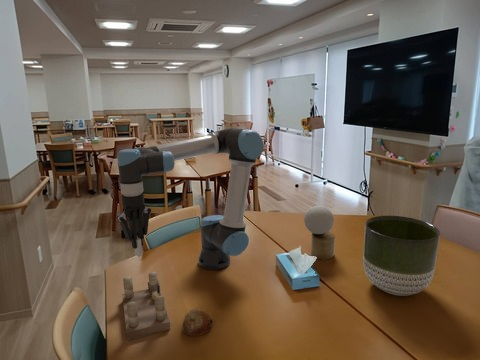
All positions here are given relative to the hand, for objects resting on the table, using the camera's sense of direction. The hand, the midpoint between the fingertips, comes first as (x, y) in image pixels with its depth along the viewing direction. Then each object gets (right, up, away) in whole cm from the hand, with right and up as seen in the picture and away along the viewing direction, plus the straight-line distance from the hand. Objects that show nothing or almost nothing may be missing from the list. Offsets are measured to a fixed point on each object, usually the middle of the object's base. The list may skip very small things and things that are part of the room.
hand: (138, 255), depth 127 cm
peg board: (+2, -22, 0) cm, 22 cm away
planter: (+101, -17, +15) cm, 103 cm away
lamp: (+77, -10, +46) cm, 90 cm away
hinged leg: (+4, -17, +6) cm, 18 cm away
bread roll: (+23, -24, -7) cm, 34 cm away
